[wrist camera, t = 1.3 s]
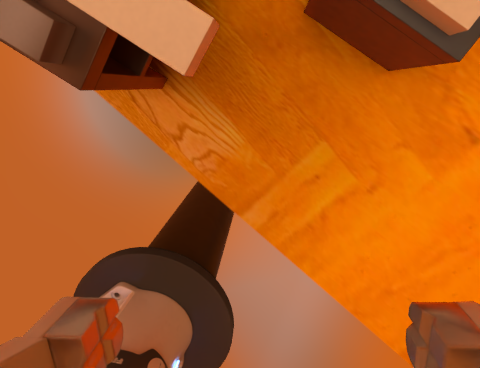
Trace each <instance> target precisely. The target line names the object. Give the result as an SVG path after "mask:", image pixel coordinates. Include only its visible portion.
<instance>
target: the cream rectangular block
mask: <svg viewBox="0 0 480 368" xmlns="http://www.w3.org/2000/svg"><path fill="white" fill-rule="evenodd" d="M67 1H68V2H70V3H72V4H73V5H75V6H76V7H78V8H79V9H81V10H82V11H84V12H85V13H87V14H89V15H90V16H92V17H93V18H95V19H96V20H98V21H99V22H101V23H103V24H104V25H106V26H107V27H109V28H110V29H112V30H113V31H115V32H117V33H118V34H120V35H121V36H123V37H124V38H126V39H127V40H129V41H130V42H132V43H134V44H135V45H137V46H138V47H140V48H141V49H143V50H144V51H146V52H148V53H149V54H151V55H152V56H154V57H155V58H157V59H158V60H160V61H162V62H163V63H165V64H166V65H168V66H169V67H171V68H172V69H174V70H175V71H177V72H179V73H180V74H182V75H183V76H191V77H193V75H194V73H195V71H196V70H197V68H198V66H199V64H200V62H201V60H202V58H203V56H204V55H205V53H206V51H207V49H208V47H209V45H210V43H211V41H212V40H213V38H214V36H215V34H216V32H217V30H218V28H219V27H220V26H219V24H218V23H217V22H216V20H215V19H214V18H213V17H211V16H210V15H208V14H207V13H205V12H204V11H202V10H201V9H199V8H198V7H196V6H195V5H193V4H192V3H190V2H189V1H187V0H67Z"/></svg>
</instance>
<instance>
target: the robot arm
mask: <svg viewBox="0 0 480 368" xmlns="http://www.w3.org/2000/svg"><path fill="white" fill-rule="evenodd" d="M117 293H119V294H117ZM408 315H409V317H410V319H411V320H412V322H413V323H412V324H411V325H410V326H409V327H408V328H407V331H406V345H407V352H408V355H409V358H410V360H411V362H412V364H413V366H414V368H480V304H478V303H476V302H474V301H469V302H412V303H411V305H410V307H409V314H408ZM192 334H193V330H192V324H191V321H190V318H189V316H188V315H187V313H186V312H185V310H184V309H183V308H182V307H181V306H180V305H179V304H178V303H177V302H176V301H174V300H173V299H171V298H170V297H168V296H166V295H163V294H161V293H158V292H154V291H148V290H142V289H138V288H137V287H135V286H133V285H131V284H128V283H126V282H119V283H118V284H116V285H115V286H114V287H112V288H111V289H110V290H108V291H107V292H106V293H104V294H103V295H102V296H100V297H99V298H97V297H64V298H61V299H60V300H59V301H58V302H57V303H56V304H55V305H54V306H53V307H52V308H51V309H50V310H49V311H48V312H47V313H46V314H45V315H44V316H43V317H42V318H41V319H40V320H39V321H38V322H37V323H36V324H35V325H34V326H33V327H32V328H31V329H30V330H29V331H28V332H27V333H26V334H25V335H24V336H23V337H16V338H14V339H12V340H10V341H8V342H6V343H4V344H2V345H0V368H182V366H183V363H184V353H185V351H186V350H187V348H188V346H189V344H190V342H191V339H192Z"/></svg>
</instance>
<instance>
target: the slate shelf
mask: <svg viewBox="0 0 480 368" xmlns="http://www.w3.org/2000/svg"><path fill="white" fill-rule="evenodd" d="M304 13H306V14H307V15H308V16H310V17H311V18H313V19H314V20H316V21H317V22H319V23H320V24H322V25H323V26H324V27H326V28H327V29H329V30H330V31H332V32H333V33H335V34H336V35H337V36H339V37H340V38H342V39H343V40H345V41H346V42H348V43H349V44H350V45H352V46H353V47H355V48H356V49H358V50H359V51H361V52H362V53H364V54H365V55H366V56H368V57H369V58H371V59H372V60H374V61H375V62H377V63H378V64H379V65H381V66H382V67H384V68H385V69H387V70H388V71H392V70H400V69H407V68H415V67H423V66H430V65H438V64H446V63H453V62H459V61H461V59H462V58H463V57H464V56H465V54H466V53H467V52H468V51H469V49H470V48H471V47H472V46H473V44H474V43H475V42H476V41H477V39H478V38H479V37H480V0H309V1H308V4H307V6H306V8H305V10H304Z"/></svg>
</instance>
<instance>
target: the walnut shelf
mask: <svg viewBox="0 0 480 368" xmlns="http://www.w3.org/2000/svg"><path fill="white" fill-rule="evenodd" d="M0 41H1V42H3V43H5V44H6V45H8V46H9V47H11V48H13V49H14V50H16V51H17V52H19V53H21V54H22V55H24V56H26V57H27V58H29V59H30V60H32V61H34V62H35V63H37V64H38V65H40V66H42V67H43V68H45V69H47V70H48V71H50V72H51V73H53V74H55V75H56V76H58V77H59V78H61V79H63V80H64V81H66V82H67V83H69V84H71V85H72V86H74V87H76V88H77V89H79V90H130V89H162V88H163V87H164V85H165V83H166V81H167V78H166V77H165V76H163V75H161V74H160V73H158V72H157V71H155V70H154V69H152V68H151V67H149V65H150V63H151V61H152V59H153V57H154V56H152V55H151V54H149V53H148V52H146V51H144V50H143V49H141V48H140V47H138V46H137V45H135V44H134V43H132V42H130V41H129V40H127V39H126V38H124V37H123V36H121V35H120V34H118V33H117V32H115V31H113V30H112V29H110V28H109V27H107V26H106V25H104V24H103V23H101V22H99V21H98V20H96V19H95V18H93V17H92V16H90V15H89V14H87V13H85V12H84V11H82V10H81V9H79V8H78V7H76V6H75V5H73V4H72V3H70V2H68V1H67V0H0Z"/></svg>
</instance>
